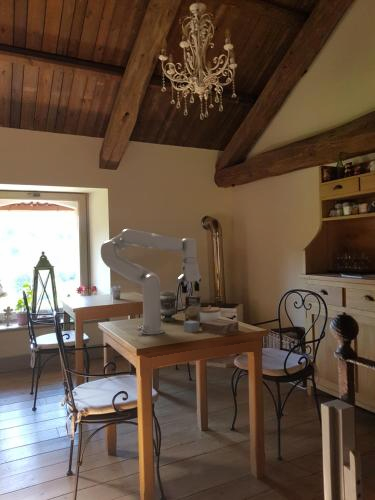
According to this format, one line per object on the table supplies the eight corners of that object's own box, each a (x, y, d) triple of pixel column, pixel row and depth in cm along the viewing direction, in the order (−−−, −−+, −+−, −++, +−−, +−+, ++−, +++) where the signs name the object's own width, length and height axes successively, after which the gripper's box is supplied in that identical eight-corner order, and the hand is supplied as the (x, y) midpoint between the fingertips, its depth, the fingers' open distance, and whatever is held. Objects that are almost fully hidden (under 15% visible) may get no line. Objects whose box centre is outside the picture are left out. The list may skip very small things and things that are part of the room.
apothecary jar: (162, 318, 250) (162, 290, 250) (180, 318, 246) (179, 290, 246) (155, 321, 238) (154, 292, 238) (173, 322, 235) (173, 292, 235)
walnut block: (221, 335, 199) (221, 326, 199) (201, 331, 209) (201, 322, 209) (238, 331, 208) (238, 321, 208) (219, 327, 219) (218, 318, 219)
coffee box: (184, 323, 228) (184, 296, 228) (185, 321, 234) (185, 295, 234) (199, 324, 227) (200, 297, 227) (200, 322, 234) (200, 295, 233)
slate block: (191, 332, 206) (191, 323, 206) (183, 331, 210) (183, 322, 210) (199, 330, 210) (199, 321, 210) (191, 329, 215) (191, 320, 215)
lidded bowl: (206, 327, 218) (205, 307, 218) (195, 323, 229) (195, 305, 229) (225, 324, 224) (224, 305, 224) (214, 321, 235) (213, 303, 235)
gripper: (183, 261, 202) (184, 294, 202) (205, 260, 214) (206, 290, 214) (173, 261, 207) (174, 293, 208) (195, 260, 220) (196, 289, 220)
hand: (190, 292), depth 211 cm, fingers open, 9 cm apart
